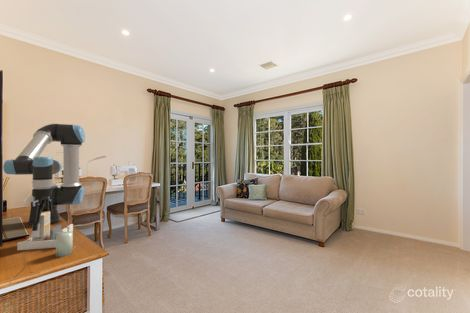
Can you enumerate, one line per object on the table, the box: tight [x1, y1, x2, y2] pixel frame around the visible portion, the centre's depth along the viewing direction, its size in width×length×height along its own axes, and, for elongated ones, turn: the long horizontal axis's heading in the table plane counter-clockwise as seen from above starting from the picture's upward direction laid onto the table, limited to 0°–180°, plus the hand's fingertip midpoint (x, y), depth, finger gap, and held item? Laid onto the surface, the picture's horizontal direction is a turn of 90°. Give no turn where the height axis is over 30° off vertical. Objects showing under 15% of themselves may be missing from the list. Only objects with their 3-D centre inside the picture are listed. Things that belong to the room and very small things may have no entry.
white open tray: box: [16, 223, 74, 251], centre depth 111 cm, size 11×18×8 cm, turn 105°
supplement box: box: [32, 211, 51, 241], centre depth 111 cm, size 8×5×13 cm, turn 23°
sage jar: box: [55, 231, 74, 258], centre depth 101 cm, size 6×6×9 cm
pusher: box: [50, 224, 62, 240], centre depth 113 cm, size 8×6×7 cm
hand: (41, 233), depth 111 cm, fingers closed on supplement box, 9 cm apart
